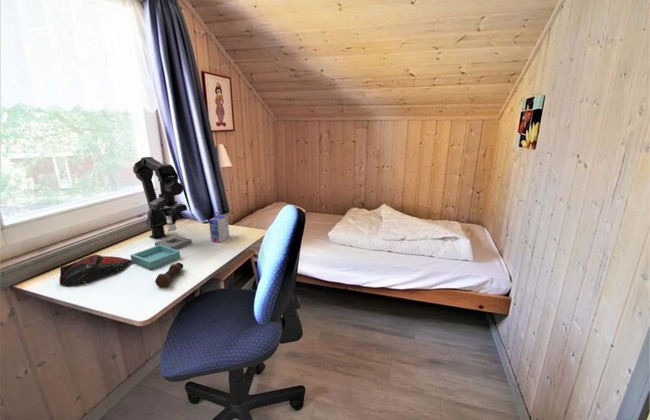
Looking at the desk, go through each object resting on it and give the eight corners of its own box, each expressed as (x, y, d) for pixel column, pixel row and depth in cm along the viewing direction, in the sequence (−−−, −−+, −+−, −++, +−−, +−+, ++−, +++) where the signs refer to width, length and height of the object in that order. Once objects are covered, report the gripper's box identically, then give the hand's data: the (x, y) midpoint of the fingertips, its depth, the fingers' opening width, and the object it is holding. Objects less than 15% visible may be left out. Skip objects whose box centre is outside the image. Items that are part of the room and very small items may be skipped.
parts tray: (131, 262, 137) (130, 254, 136) (161, 251, 149) (160, 244, 148) (150, 270, 131) (149, 262, 130) (180, 258, 142) (179, 251, 141)
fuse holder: (155, 246, 154) (154, 242, 154) (176, 238, 164) (176, 235, 164) (170, 251, 149) (170, 247, 148) (192, 243, 159) (191, 239, 158)
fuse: (166, 230, 154) (164, 216, 152) (173, 227, 157) (171, 214, 155) (171, 231, 152) (169, 217, 150) (177, 229, 155) (176, 215, 153)
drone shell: (52, 289, 115) (47, 269, 113) (78, 265, 134) (74, 248, 131) (117, 283, 121) (113, 264, 118) (134, 261, 139) (131, 244, 136)
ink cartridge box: (220, 235, 171) (218, 210, 167) (229, 236, 170) (228, 210, 166) (210, 242, 161) (208, 215, 157) (219, 243, 160) (217, 216, 156)
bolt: (182, 273, 132) (165, 291, 118) (171, 267, 132) (152, 284, 117) (188, 262, 131) (171, 279, 117) (177, 256, 131) (159, 272, 116)
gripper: (139, 192, 147) (143, 223, 151) (164, 197, 138) (168, 231, 142) (161, 188, 156) (165, 218, 160) (186, 192, 147) (189, 224, 151)
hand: (171, 222), depth 153 cm, fingers closed on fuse, 4 cm apart
